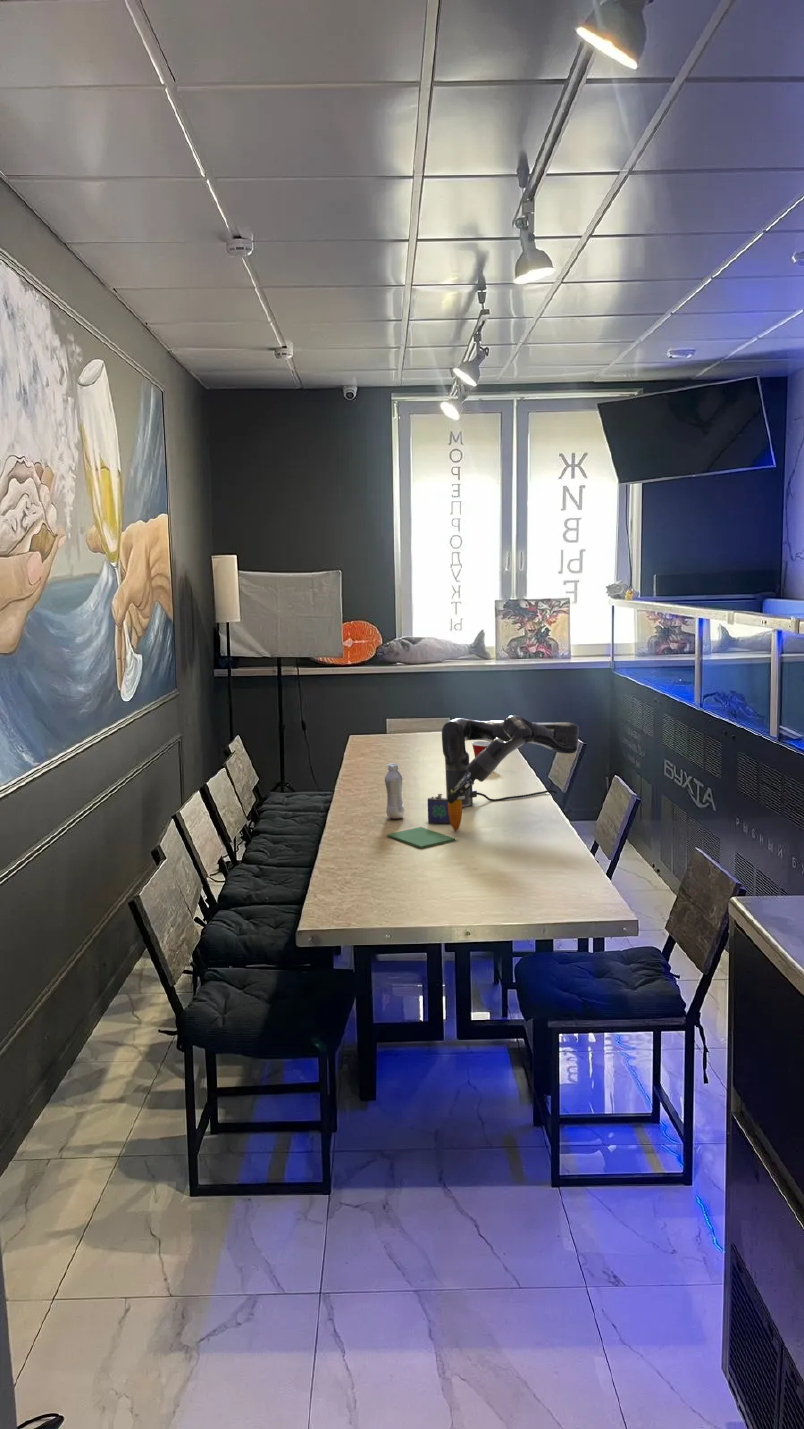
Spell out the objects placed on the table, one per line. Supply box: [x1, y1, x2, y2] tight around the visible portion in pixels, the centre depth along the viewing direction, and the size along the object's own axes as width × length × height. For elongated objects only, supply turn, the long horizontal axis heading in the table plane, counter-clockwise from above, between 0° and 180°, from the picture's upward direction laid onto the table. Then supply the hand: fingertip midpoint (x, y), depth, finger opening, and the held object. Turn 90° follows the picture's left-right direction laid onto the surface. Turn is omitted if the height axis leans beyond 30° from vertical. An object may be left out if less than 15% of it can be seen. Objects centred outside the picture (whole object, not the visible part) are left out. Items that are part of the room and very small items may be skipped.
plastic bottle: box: [384, 763, 405, 820], centre depth 350 cm, size 6×7×20 cm
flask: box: [427, 793, 451, 825], centre depth 341 cm, size 9×3×11 cm, turn 74°
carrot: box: [448, 789, 463, 833], centre depth 329 cm, size 5×5×15 cm
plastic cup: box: [471, 740, 491, 758], centre depth 434 cm, size 11×11×12 cm
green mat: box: [386, 826, 456, 849], centre depth 323 cm, size 14×20×1 cm
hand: (449, 800), depth 328 cm, fingers closed on carrot, 4 cm apart
